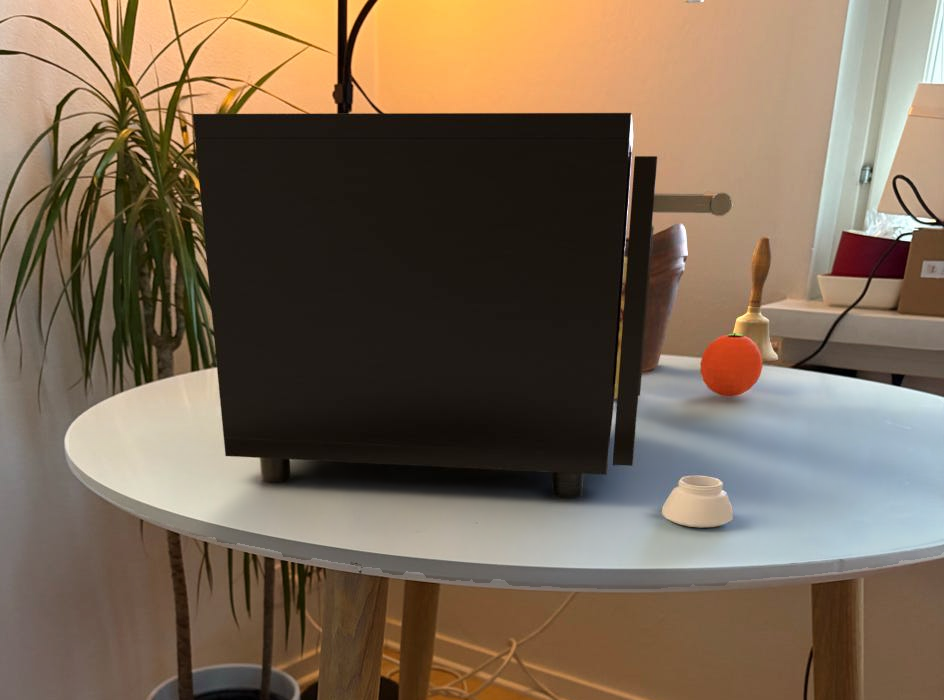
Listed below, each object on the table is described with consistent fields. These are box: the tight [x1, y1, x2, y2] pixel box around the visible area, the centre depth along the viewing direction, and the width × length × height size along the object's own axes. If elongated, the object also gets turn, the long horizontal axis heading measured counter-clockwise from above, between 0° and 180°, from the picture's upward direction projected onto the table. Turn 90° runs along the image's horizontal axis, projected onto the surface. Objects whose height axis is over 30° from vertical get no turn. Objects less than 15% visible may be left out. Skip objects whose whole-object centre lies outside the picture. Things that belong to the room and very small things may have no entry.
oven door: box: [612, 155, 733, 467], centre depth 82 cm, size 7×28×21 cm, turn 171°
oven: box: [192, 112, 634, 499], centre depth 85 cm, size 30×30×26 cm
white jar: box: [661, 475, 734, 529], centre depth 71 cm, size 5×3×5 cm
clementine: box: [700, 333, 763, 397], centre depth 114 cm, size 8×7×7 cm
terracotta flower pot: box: [625, 223, 689, 372], centre depth 129 cm, size 18×20×18 cm
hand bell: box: [732, 236, 779, 363], centre depth 136 cm, size 8×8×16 cm
